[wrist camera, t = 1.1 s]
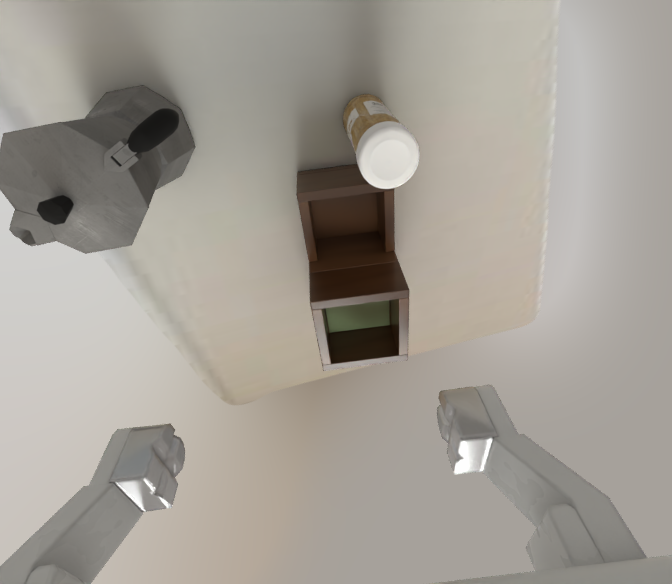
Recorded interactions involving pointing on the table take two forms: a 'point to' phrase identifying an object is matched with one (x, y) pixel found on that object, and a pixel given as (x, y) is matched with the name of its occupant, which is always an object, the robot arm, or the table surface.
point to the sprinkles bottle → (380, 143)
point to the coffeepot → (94, 171)
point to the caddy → (353, 268)
